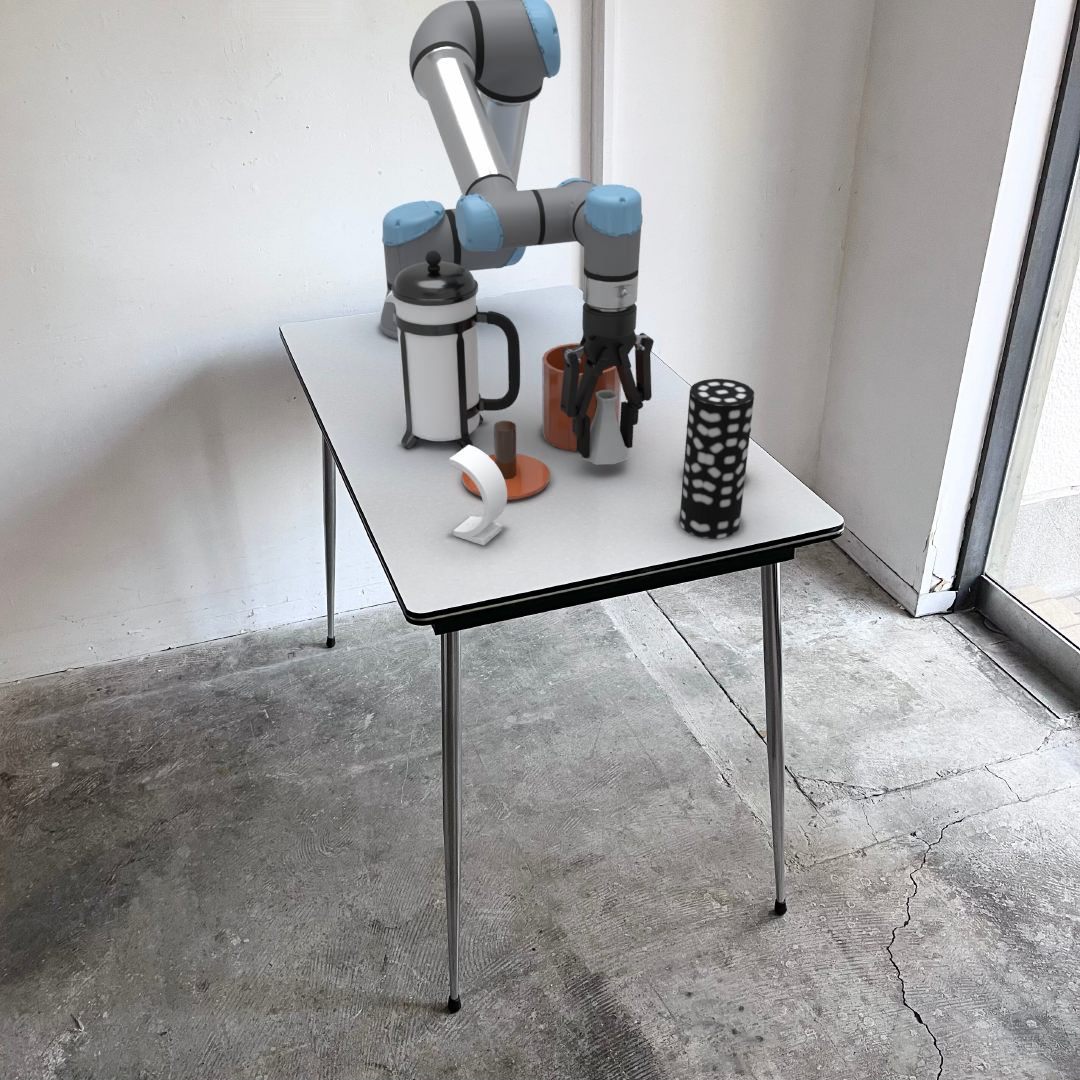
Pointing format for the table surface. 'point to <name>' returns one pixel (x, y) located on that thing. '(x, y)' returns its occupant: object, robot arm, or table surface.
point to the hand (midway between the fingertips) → (604, 448)
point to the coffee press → (445, 351)
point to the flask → (606, 432)
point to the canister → (553, 417)
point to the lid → (513, 465)
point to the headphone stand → (490, 490)
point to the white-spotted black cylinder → (715, 457)
